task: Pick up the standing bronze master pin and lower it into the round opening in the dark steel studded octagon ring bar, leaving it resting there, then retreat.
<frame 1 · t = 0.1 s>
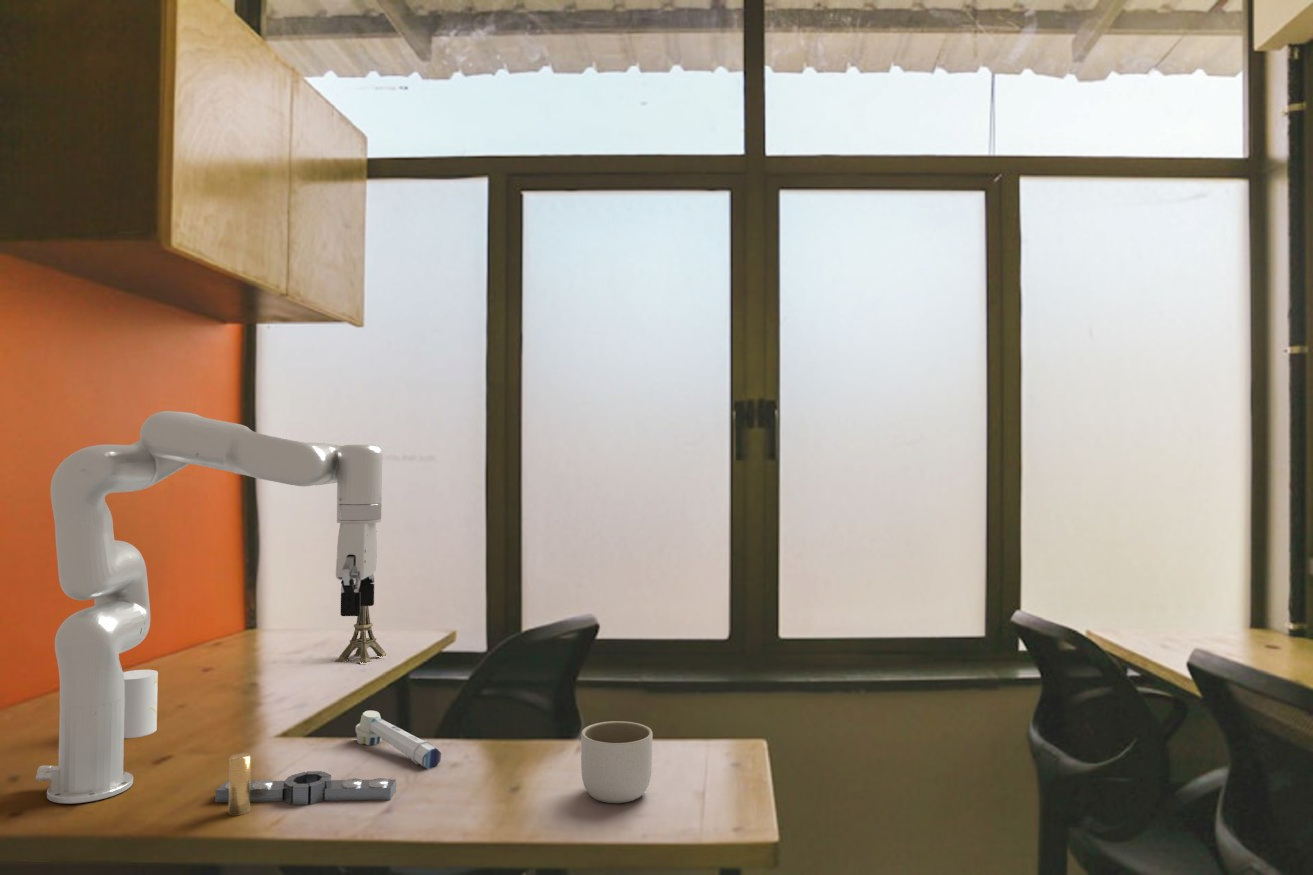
hand: (357, 610, 156), 31 cm above the table, fingers open, 9 cm apart
eiffel tower: (362, 660, 250), on the table
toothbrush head: (395, 754, 174), on the table
studded octagon ring bar: (307, 796, 151), on the table
master pin: (239, 811, 145), on the table
planter: (616, 795, 154), on the table
cup: (134, 732, 184), on the table
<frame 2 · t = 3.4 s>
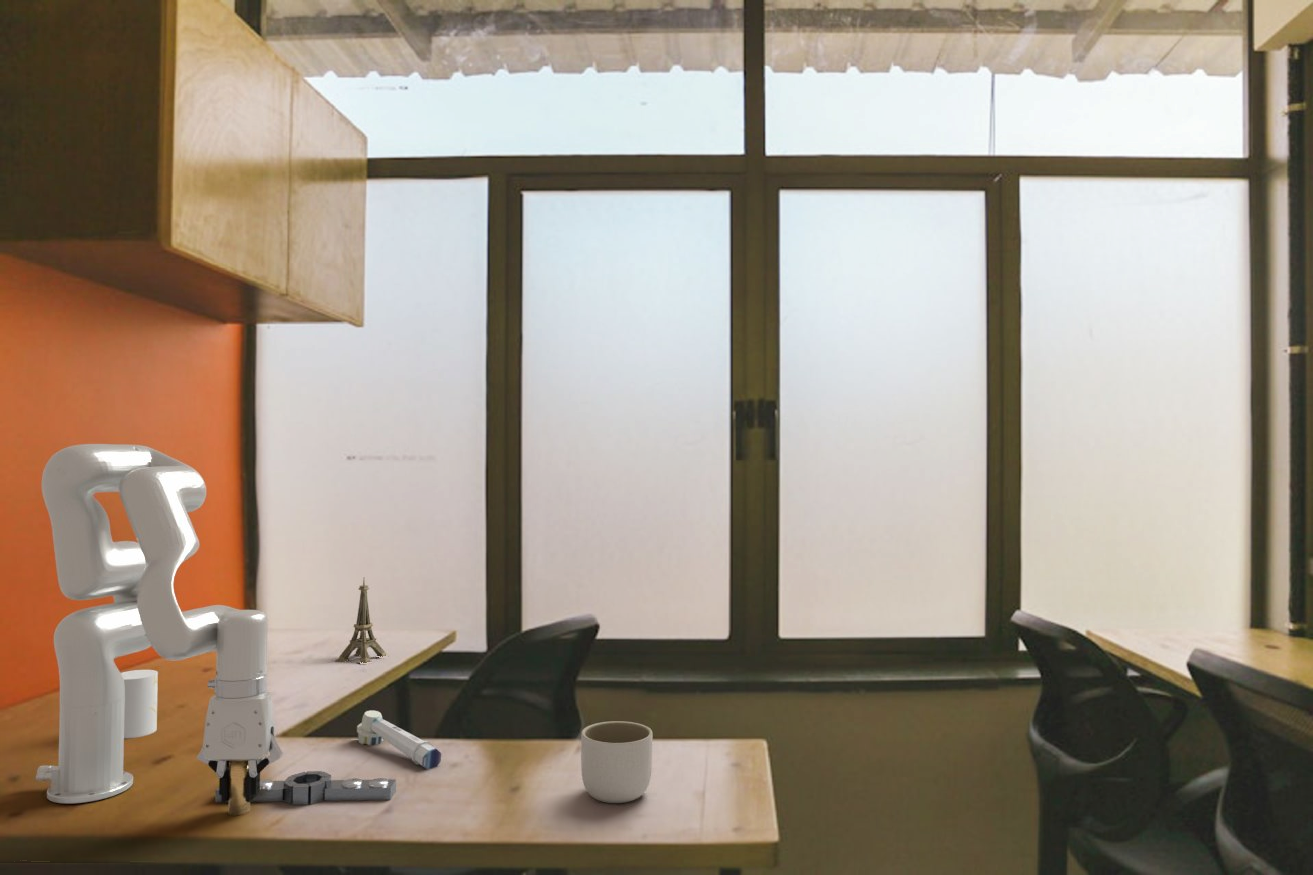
hand: (239, 797, 145), 2 cm above the table, fingers closed on master pin, 3 cm apart
master pin: (239, 811, 145), on the table, touching gripper
everything else where it was.
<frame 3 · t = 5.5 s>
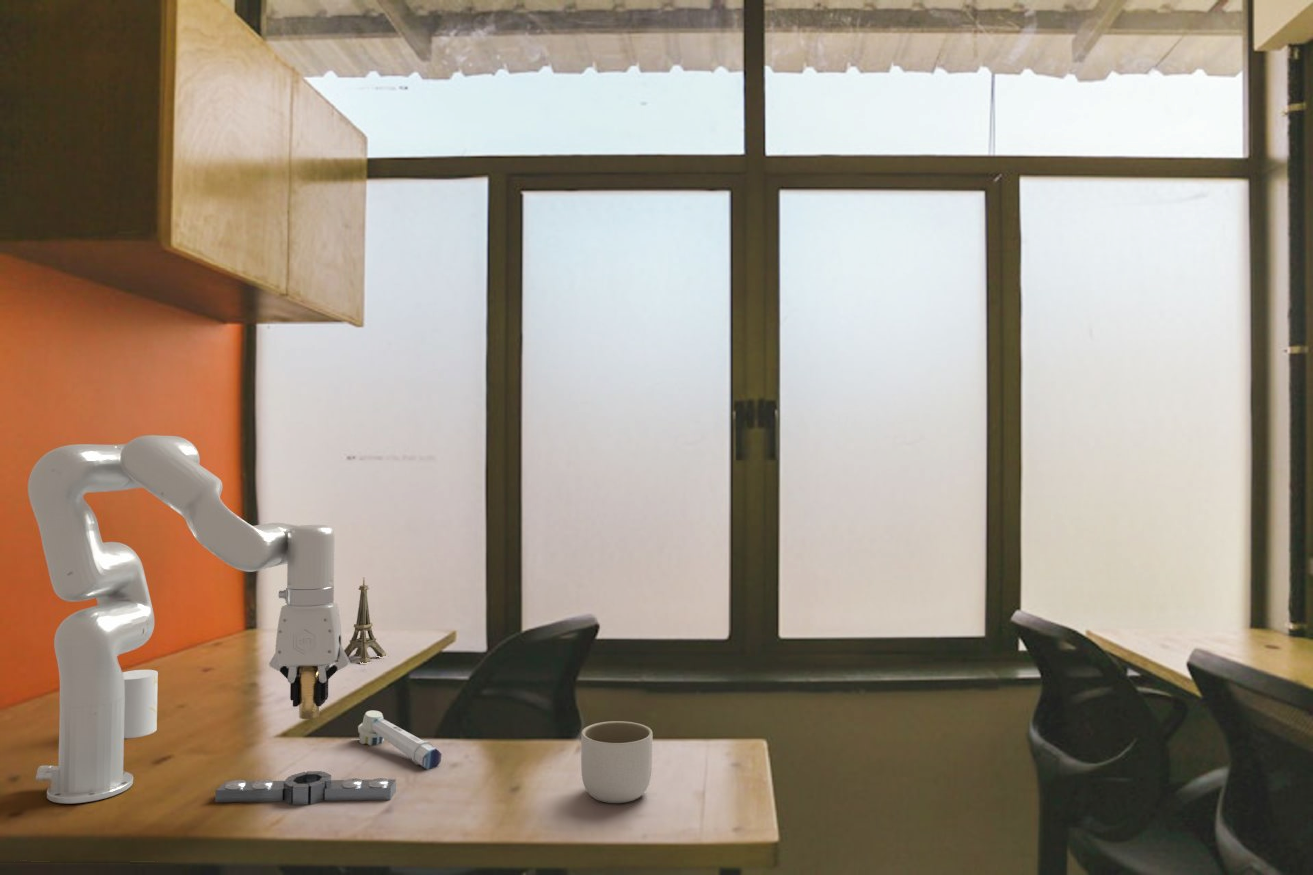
hand: (309, 703, 151), 16 cm above the table, fingers closed on master pin, 3 cm apart
master pin: (309, 716, 151), point 14 cm above the table, touching gripper
everything else where it was.
when the fingers open (4 cm above the table, at t = 7.4 s): master pin drops 1 cm, resting in studded octagon ring bar.
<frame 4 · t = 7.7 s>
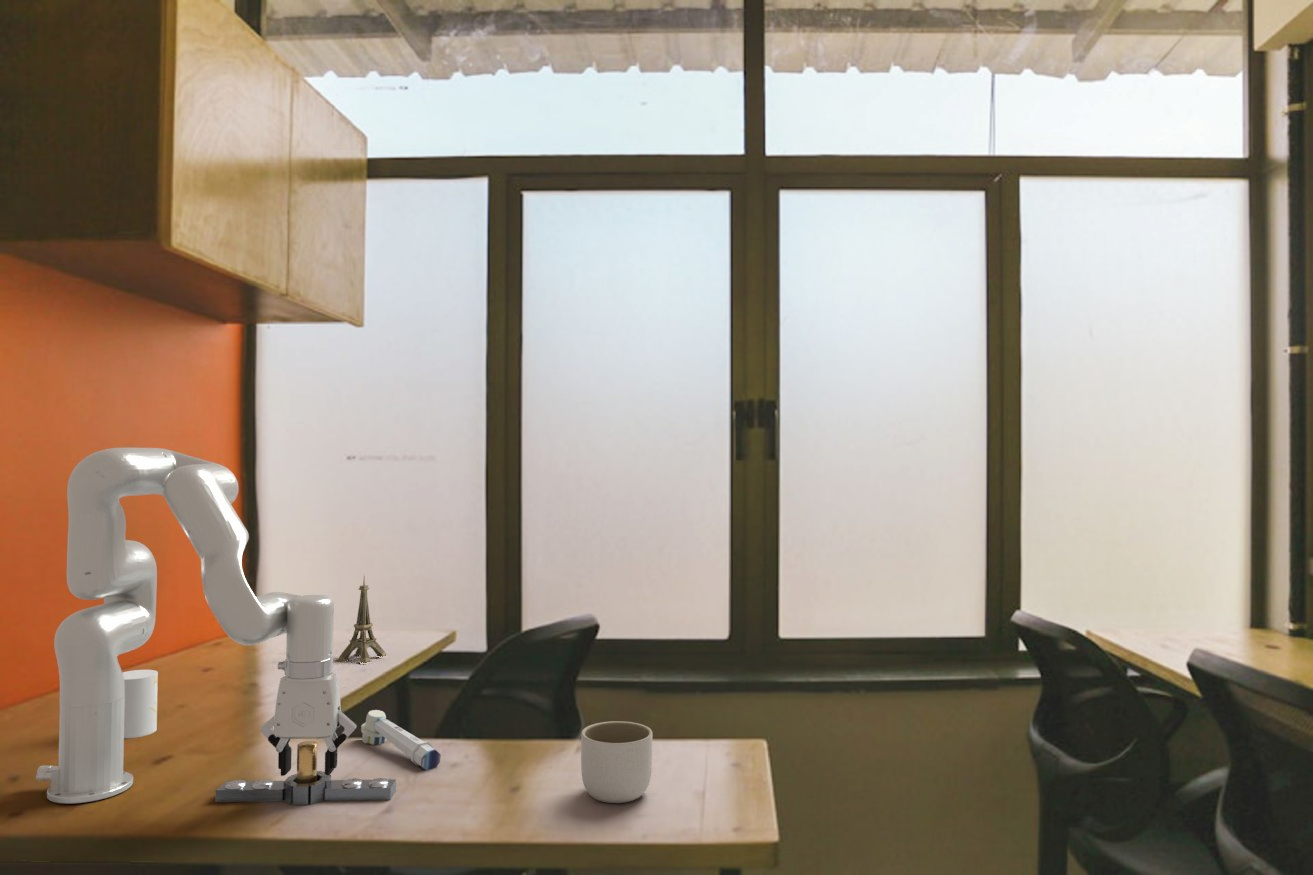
hand: (307, 771, 151), 4 cm above the table, fingers open, 6 cm apart
master pin: (306, 796, 151), resting in studded octagon ring bar
everything else where it was.
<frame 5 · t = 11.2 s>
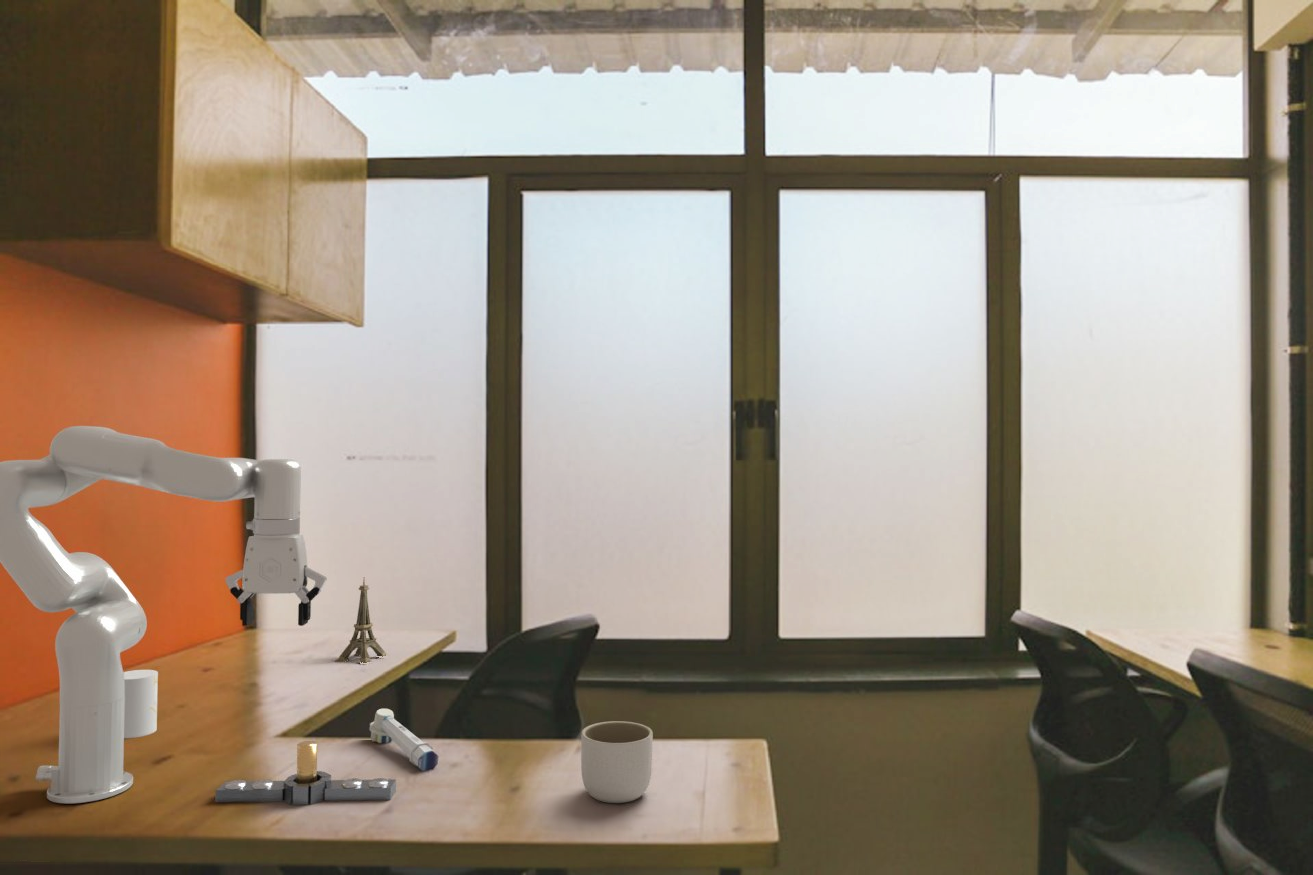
hand: (275, 624, 157), 28 cm above the table, fingers open, 9 cm apart
at the end: master pin 0.2 cm off-centre on the studded octagon ring bar, point 0.0 cm above the studded octagon ring bar's base; master pin tilted 0°; the gripper is holding nothing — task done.
